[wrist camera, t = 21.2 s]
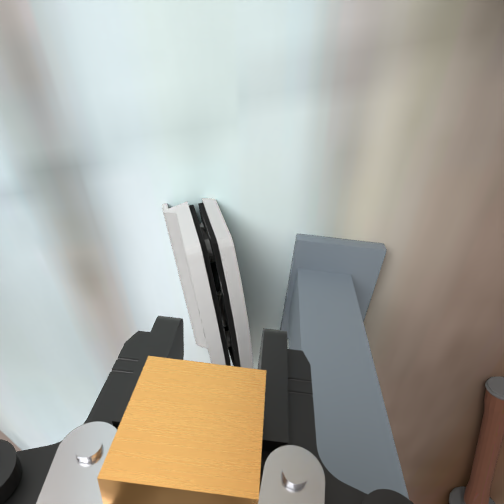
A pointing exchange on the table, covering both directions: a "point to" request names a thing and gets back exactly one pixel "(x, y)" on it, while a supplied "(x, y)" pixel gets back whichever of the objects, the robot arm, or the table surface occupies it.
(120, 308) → the table surface
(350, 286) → the press frame
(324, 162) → the table surface
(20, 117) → the table surface
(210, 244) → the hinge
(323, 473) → the robot arm
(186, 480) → the ram
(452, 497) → the mallet
